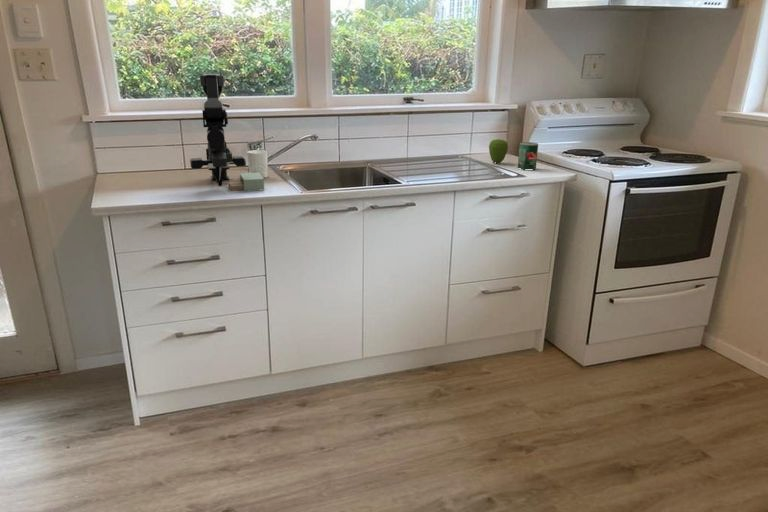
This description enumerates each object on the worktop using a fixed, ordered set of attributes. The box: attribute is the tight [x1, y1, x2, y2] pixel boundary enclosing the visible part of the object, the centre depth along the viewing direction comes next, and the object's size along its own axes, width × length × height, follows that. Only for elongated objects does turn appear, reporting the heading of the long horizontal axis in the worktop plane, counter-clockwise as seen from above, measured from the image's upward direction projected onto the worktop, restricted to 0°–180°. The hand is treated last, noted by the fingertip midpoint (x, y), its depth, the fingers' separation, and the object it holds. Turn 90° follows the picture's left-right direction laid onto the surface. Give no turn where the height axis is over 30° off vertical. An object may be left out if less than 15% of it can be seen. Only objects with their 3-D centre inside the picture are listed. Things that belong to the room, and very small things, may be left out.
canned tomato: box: [517, 141, 539, 170], centre depth 255 cm, size 8×8×11 cm
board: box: [228, 181, 244, 191], centre depth 215 cm, size 7×10×2 cm
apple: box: [488, 138, 509, 164], centre depth 266 cm, size 9×8×12 cm
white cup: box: [246, 149, 269, 179], centre depth 232 cm, size 8×8×10 cm
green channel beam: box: [239, 172, 265, 192], centre depth 215 cm, size 12×7×4 cm, turn 20°
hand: (220, 186), depth 212 cm, fingers closed
